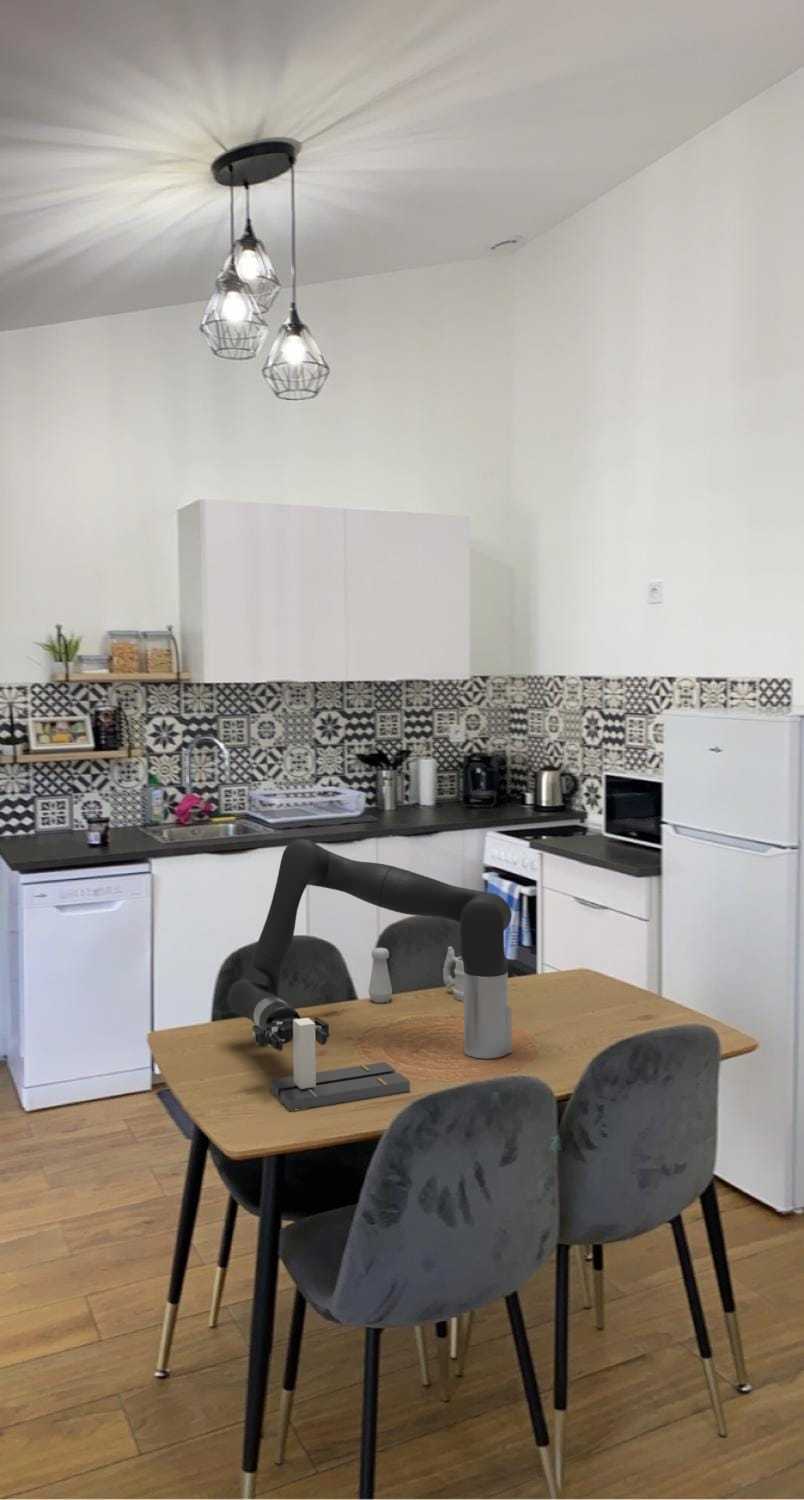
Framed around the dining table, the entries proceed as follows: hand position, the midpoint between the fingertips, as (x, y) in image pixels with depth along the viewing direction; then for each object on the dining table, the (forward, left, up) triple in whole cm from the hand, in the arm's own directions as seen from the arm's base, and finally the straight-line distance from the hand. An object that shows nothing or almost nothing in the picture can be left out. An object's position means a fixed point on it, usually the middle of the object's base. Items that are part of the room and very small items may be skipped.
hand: (302, 1042), depth 210 cm
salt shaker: (-38, -52, -10) cm, 65 cm away
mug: (-58, -47, -10) cm, 75 cm away
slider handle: (0, +1, -9) cm, 9 cm away
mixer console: (-7, +1, -10) cm, 12 cm away
